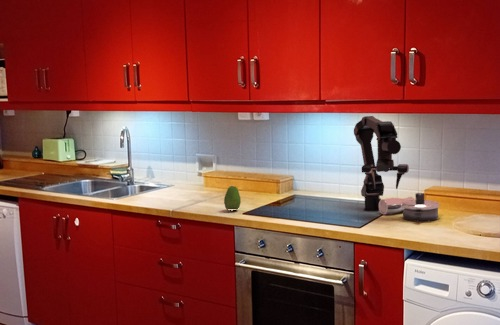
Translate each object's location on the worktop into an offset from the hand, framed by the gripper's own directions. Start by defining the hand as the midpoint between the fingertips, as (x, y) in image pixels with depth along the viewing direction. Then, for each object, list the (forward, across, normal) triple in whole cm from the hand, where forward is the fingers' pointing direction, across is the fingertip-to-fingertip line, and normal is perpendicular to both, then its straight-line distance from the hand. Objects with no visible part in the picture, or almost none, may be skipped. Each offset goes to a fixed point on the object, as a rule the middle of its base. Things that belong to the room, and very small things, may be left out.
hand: (385, 188), depth 248 cm
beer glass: (+9, +9, +14) cm, 19 cm away
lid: (+7, +14, 0) cm, 16 cm away
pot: (+12, +14, -2) cm, 19 cm away
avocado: (+12, -71, +2) cm, 72 cm away
